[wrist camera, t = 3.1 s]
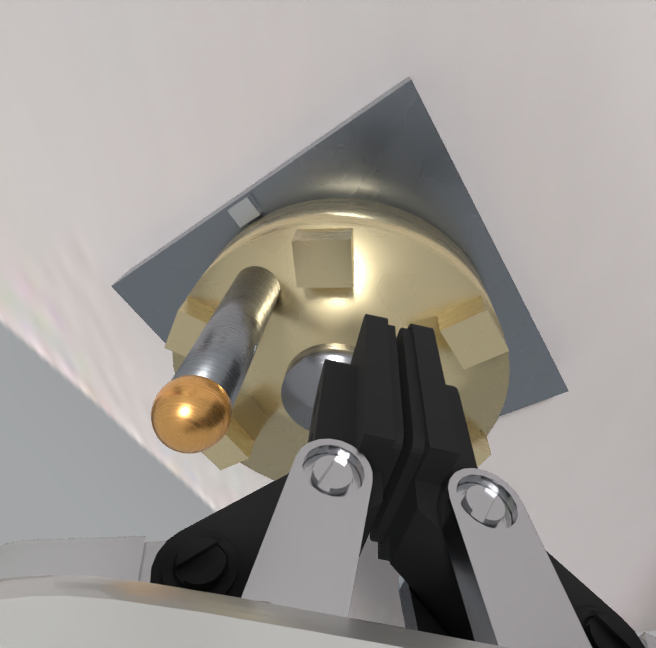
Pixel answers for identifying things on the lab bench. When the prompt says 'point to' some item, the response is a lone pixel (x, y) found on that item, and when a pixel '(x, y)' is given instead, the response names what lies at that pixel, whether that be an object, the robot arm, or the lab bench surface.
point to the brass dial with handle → (319, 328)
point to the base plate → (371, 185)
